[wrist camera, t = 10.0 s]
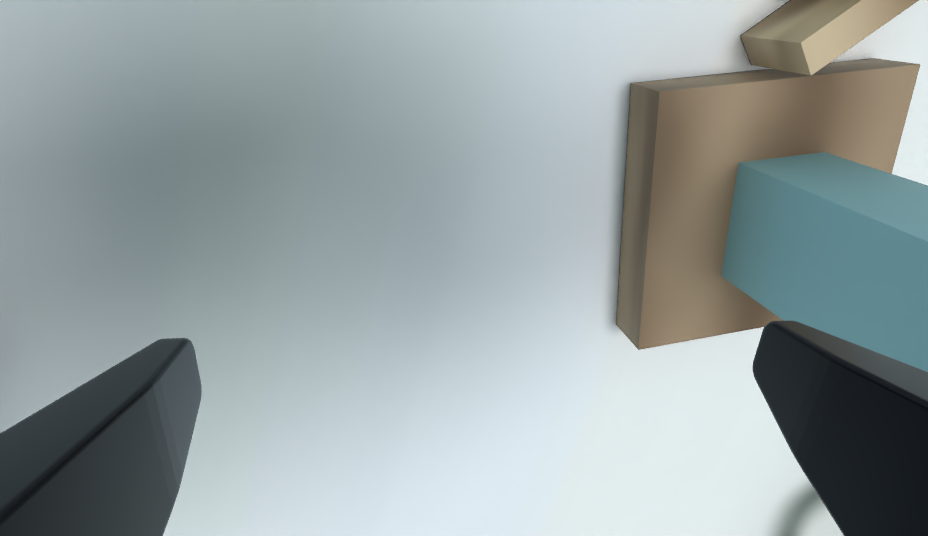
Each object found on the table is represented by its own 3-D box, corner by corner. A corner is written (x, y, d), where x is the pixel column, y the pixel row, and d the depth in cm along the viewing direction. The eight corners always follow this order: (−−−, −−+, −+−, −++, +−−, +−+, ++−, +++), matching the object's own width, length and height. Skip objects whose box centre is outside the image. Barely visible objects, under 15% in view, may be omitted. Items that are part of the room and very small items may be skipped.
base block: (616, 324, 26) (638, 349, 24) (631, 83, 21) (659, 91, 19) (820, 288, 27) (855, 309, 25) (873, 58, 23) (920, 64, 21)
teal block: (721, 275, 23) (991, 470, 14) (738, 162, 21) (1067, 300, 12) (800, 263, 24) (1110, 441, 14) (824, 152, 22) (1202, 275, 12)
